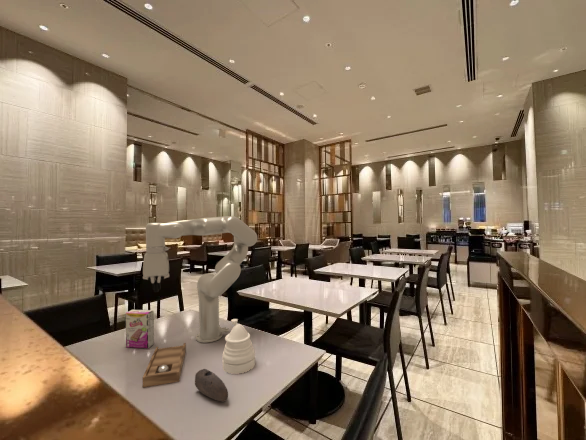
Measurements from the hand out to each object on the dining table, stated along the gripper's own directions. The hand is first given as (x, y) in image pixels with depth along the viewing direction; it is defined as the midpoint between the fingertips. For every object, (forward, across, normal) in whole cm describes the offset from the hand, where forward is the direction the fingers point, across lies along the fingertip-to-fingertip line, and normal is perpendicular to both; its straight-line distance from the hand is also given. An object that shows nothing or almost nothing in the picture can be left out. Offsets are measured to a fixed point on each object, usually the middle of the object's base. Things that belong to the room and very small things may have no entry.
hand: (156, 291), depth 123 cm
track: (+27, -6, +15) cm, 32 cm away
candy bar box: (+27, +9, -8) cm, 30 cm away
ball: (+25, -6, +22) cm, 34 cm away
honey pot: (+27, -34, +22) cm, 49 cm away
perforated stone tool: (+27, -24, +39) cm, 53 cm away
